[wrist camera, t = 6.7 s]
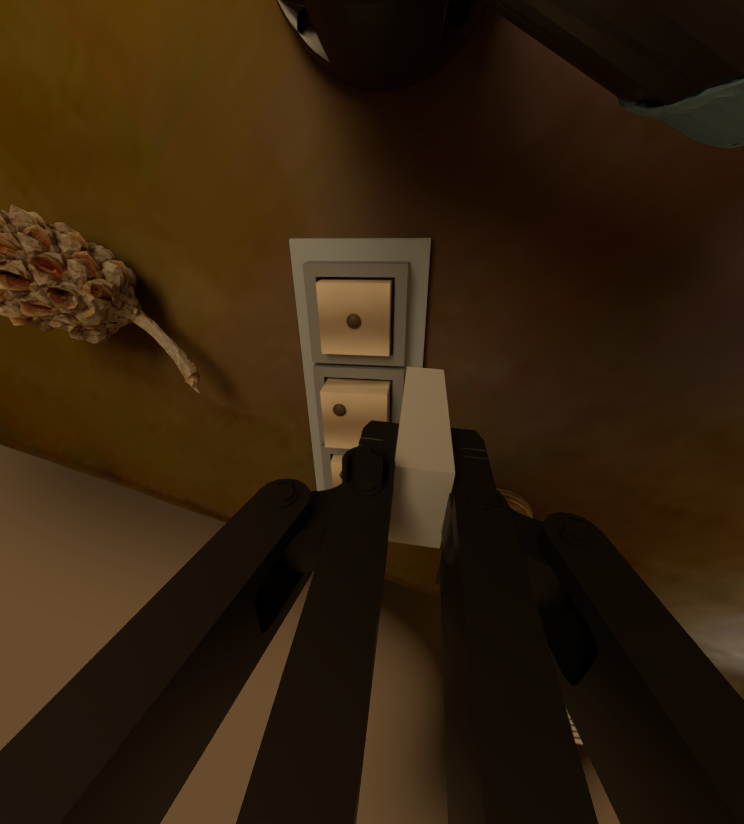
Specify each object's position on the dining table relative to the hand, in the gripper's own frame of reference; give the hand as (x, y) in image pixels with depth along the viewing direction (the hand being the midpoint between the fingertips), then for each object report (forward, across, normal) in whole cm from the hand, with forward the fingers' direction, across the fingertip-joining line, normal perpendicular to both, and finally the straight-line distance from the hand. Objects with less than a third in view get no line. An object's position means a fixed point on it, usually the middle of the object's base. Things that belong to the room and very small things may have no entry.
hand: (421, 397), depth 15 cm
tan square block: (+18, -6, -1) cm, 19 cm away
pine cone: (+20, -29, -2) cm, 35 cm away
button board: (+20, -5, -10) cm, 23 cm away
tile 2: (+17, -5, -10) cm, 20 cm away
